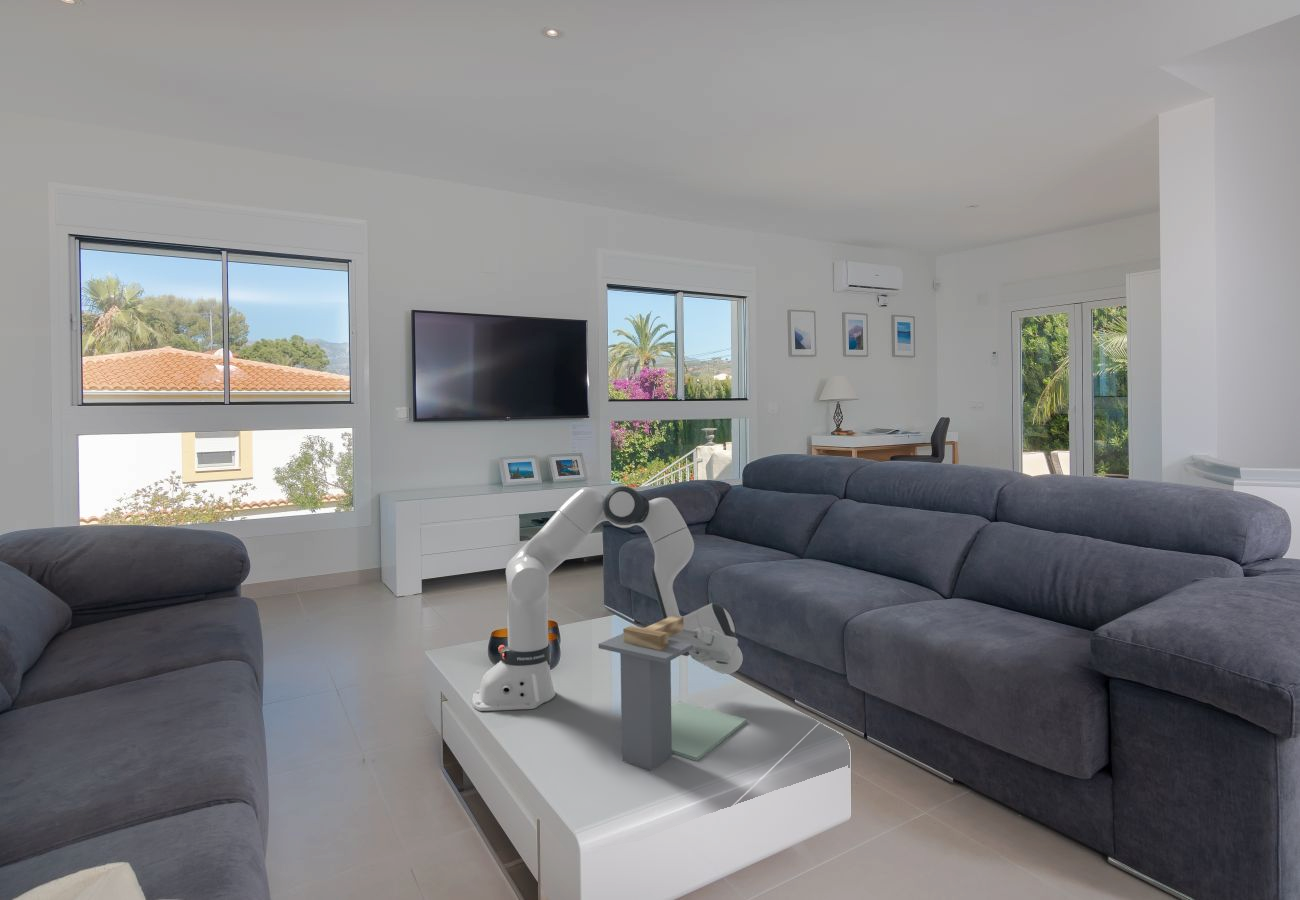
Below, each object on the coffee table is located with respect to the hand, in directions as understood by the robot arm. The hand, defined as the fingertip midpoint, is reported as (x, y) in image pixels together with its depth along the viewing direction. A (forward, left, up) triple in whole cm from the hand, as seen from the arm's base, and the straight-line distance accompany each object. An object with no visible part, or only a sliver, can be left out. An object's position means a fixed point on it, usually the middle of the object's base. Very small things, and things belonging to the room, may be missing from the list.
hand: (680, 630), depth 169 cm
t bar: (-6, -5, +1) cm, 8 cm away
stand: (-11, -9, -25) cm, 29 cm away
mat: (+2, +2, -25) cm, 25 cm away
